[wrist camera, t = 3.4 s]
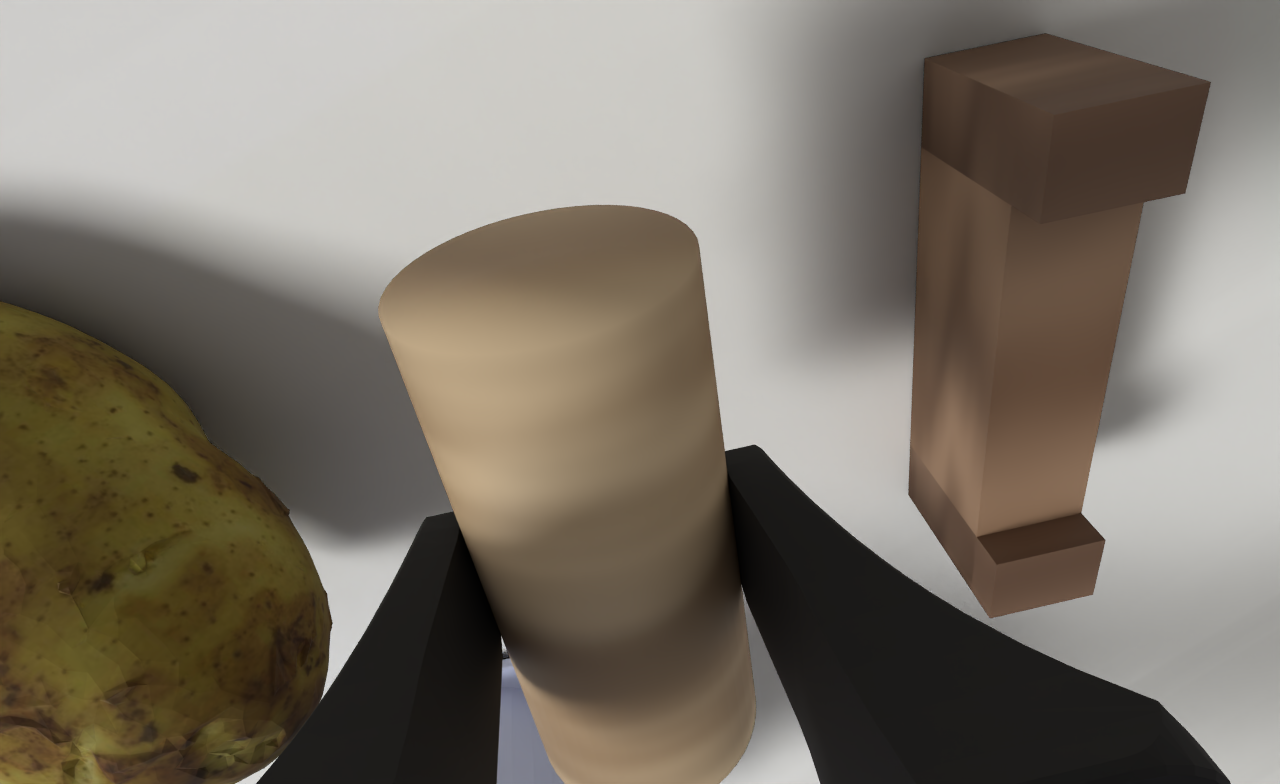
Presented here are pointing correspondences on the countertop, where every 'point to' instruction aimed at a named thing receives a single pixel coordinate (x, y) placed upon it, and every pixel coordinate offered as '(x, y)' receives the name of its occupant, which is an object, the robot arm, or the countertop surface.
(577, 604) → the roller
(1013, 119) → the stop rail
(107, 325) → the countertop surface
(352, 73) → the countertop surface
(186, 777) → the potato
